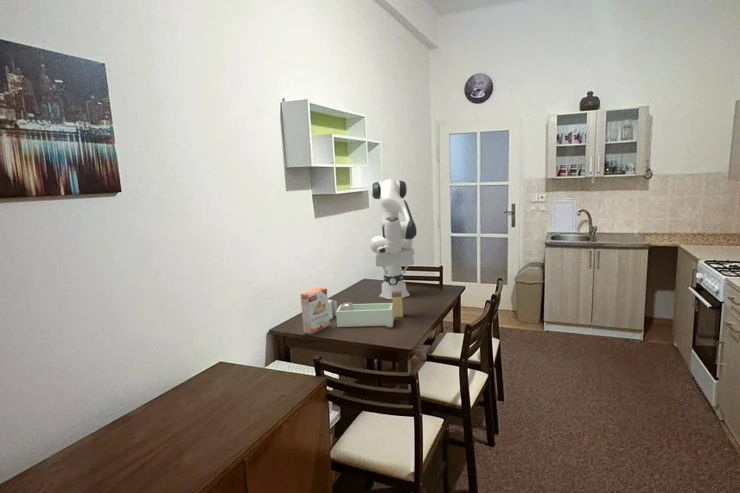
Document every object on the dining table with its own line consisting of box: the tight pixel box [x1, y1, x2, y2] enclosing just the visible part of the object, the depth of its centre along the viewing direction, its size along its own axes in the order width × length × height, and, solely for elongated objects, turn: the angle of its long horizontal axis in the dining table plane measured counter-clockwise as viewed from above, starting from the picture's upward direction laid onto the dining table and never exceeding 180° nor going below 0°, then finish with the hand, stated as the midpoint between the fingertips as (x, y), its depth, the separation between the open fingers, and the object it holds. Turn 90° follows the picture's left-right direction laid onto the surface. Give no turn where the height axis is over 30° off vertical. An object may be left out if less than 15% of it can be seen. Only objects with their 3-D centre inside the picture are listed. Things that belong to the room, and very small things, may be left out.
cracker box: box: [300, 287, 330, 335], centre depth 221 cm, size 14×6×21 cm, turn 145°
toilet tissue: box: [328, 299, 338, 321], centre depth 240 cm, size 11×12×10 cm
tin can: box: [341, 302, 354, 311], centre depth 228 cm, size 6×6×10 cm
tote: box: [335, 302, 395, 328], centre depth 227 cm, size 12×28×9 cm, turn 84°
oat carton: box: [391, 291, 404, 318], centre depth 237 cm, size 5×5×13 cm
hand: (395, 273), depth 234 cm, fingers open, 8 cm apart
